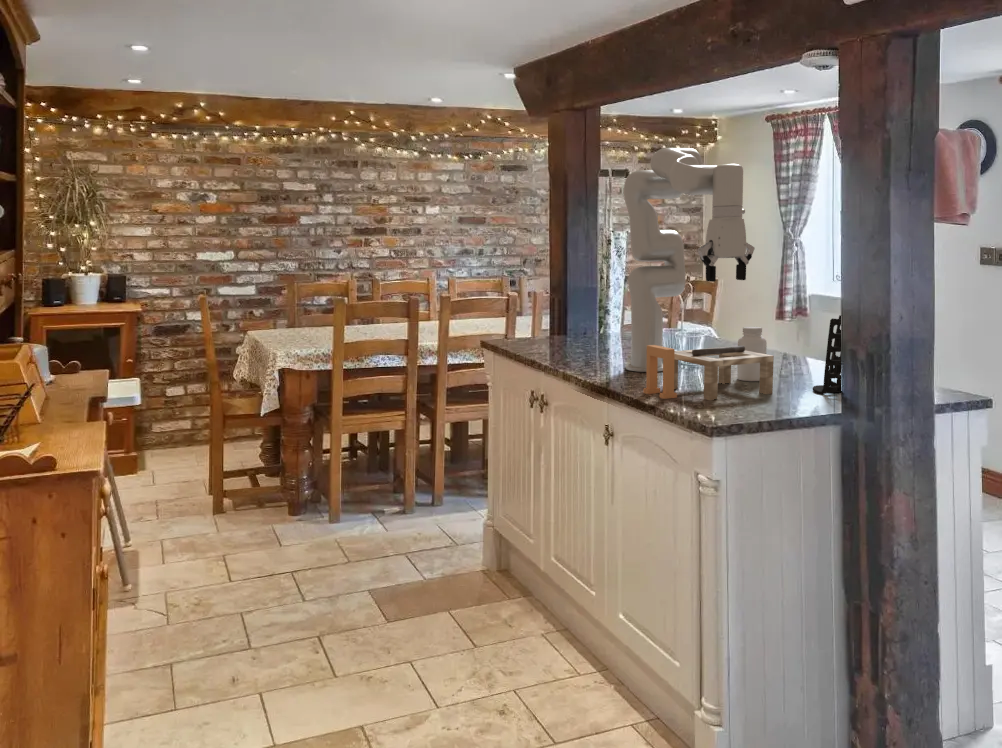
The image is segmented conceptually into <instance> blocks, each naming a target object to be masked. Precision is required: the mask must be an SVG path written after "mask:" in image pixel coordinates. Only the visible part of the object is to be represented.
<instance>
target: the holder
mask: <svg viewBox="0 0 1002 748" xmlns="http://www.w3.org/2000/svg"><path fill="white" fill-rule="evenodd" d="M841 316H842V315H841V314H840V315H839V316H838V318H831V319H830V321H829V328H828V336H827V345H826V356H825V363H824V364H825V365H824V373H823V385H819V384H817V385H814V386H813V387H812V391H813V392H814V393H816V394H819V395H821V396H822V395H825V394H827V393H837V394H841V393H840V392H841V375H842V372H841V330H842V329H841V326H842V325H841ZM835 326H836V330H835V329H834V328H835ZM834 330H835V332H834ZM833 340H834V342H833ZM836 353H840V355H839V356H838V355H837V354H836ZM832 379H836V381H833V380H832Z"/></svg>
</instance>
